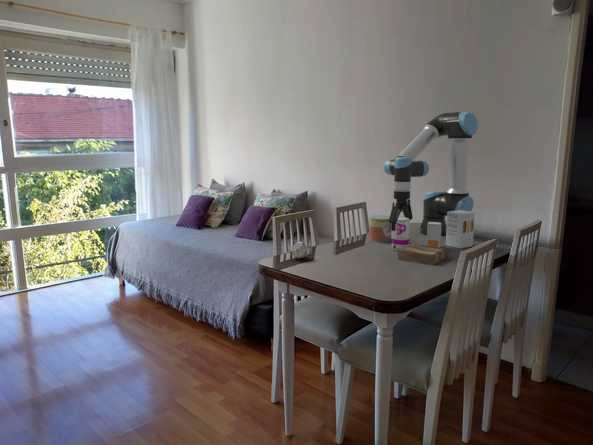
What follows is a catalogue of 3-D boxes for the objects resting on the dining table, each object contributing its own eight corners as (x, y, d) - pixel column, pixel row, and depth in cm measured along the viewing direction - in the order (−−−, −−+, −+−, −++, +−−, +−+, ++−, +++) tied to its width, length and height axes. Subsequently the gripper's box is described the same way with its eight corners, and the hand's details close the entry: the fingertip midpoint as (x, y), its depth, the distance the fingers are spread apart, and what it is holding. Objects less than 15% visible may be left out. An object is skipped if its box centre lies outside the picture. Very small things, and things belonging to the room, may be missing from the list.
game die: (299, 265, 205) (302, 245, 210) (311, 262, 199) (314, 241, 203) (284, 258, 200) (287, 238, 205) (296, 255, 194) (300, 234, 199)
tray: (413, 251, 211) (413, 243, 210) (447, 256, 201) (447, 248, 200) (397, 259, 199) (398, 250, 198) (433, 264, 189) (433, 255, 188)
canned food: (381, 243, 229) (381, 219, 227) (364, 239, 238) (364, 217, 236) (395, 239, 236) (396, 217, 234) (378, 236, 245) (379, 214, 243)
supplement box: (460, 248, 215) (462, 213, 212) (445, 245, 223) (446, 211, 220) (473, 246, 220) (475, 211, 217) (457, 242, 228) (459, 209, 225)
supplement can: (406, 252, 211) (407, 220, 208) (389, 250, 215) (389, 219, 212) (411, 248, 217) (412, 217, 215) (395, 246, 222) (395, 216, 219)
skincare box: (426, 247, 219) (427, 223, 217) (428, 245, 222) (428, 221, 220) (439, 248, 216) (440, 224, 214) (440, 246, 220) (441, 222, 217)
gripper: (406, 187, 223) (404, 230, 226) (382, 192, 204) (380, 238, 207) (420, 188, 218) (418, 231, 222) (397, 193, 199) (395, 240, 203)
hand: (400, 235), depth 215 cm, fingers open, 13 cm apart
